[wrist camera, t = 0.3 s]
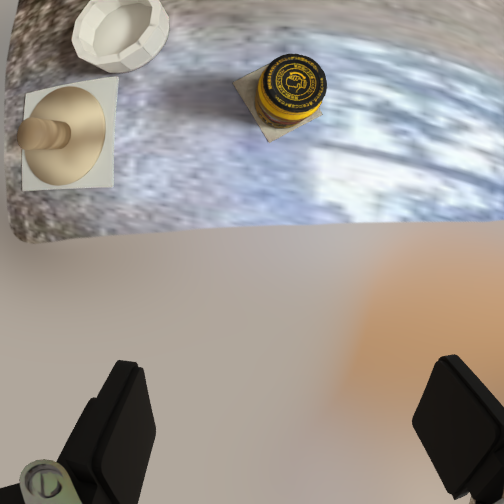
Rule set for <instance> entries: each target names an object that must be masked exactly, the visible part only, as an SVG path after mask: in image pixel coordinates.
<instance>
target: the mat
mask: <svg viewBox="0 0 504 504" xmlns="http://www.w3.org/2000/svg"><path fill="white" fill-rule="evenodd" d="M118 82H119V77H118V76H115V77H108V78H101V79H94V80H88V81H82V82H77V83H71V84H66V85H61V86H57V87H52V88H48V89H43V90H39V91H35V92H31V93H27V94H26V98H25V108H24V120H25V119H27V118H29V117H30V115H31V113H32V112H33V110H34V108H35V107H36V105H37V104H38V103H39V102H40V101H41V100H42V99H43V98H44V97H45V96H46V95H47V94H49V93H50V92H52V91H54V90H56V89H58V88H62V87H67V86H74V87H79V88H82V89H84V90H87V91H88V92H90V93H91V94H92V95H93V96H95V98H96V99H97V100H98V101H99V103H100V105H101V107H102V109H103V112H104V116H105V123H106V133H105V140H104V145H103V148H102V151H101V153H100V156H99V158H98V160H97V161H96V163H95V165H94V166H93V167H92V169H91V170H90V171H89V172H88V173H87V174H86V175H85V176H83V177H82V178H81V179H79V180H78V181H75V182H73V183H70V184H67V185H60V186H55V185H50V184H47V183H45V182H43V181H41V180H40V179H39V178H37V177H36V176H35V174H34V173H33V172H32V170H31V169H30V167H29V165H28V163H27V160H26V156H25V150H24V149H22V191H32V190H49V189H70V188H99V187H114V138H115V119H116V104H117V92H118Z"/></svg>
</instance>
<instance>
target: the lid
mask: <svg viewBox="0 0 504 504" xmlns="http://www.w3.org/2000/svg"><path fill="white" fill-rule="evenodd" d="M105 133H106V123H105V116H104V112H103V109H102V107H101V105H100V103H99V101H98V100H97V99H96V98H95V96H93V95H92V94H91V93H90V92H88V91H87V90H84V89H82V88H79V87H74V86H67V87H62V88H58V89H56V90H54V91H52V92H50V93H49V94H47V95H46V96H45V97H44V98H43V99H42V100H41V101H40V102H39V103H38V104H37V105H36V107H35V108H34V110H33V112H32V113H31V115H30V117H29V118H27V119H25V120H24V121H23V122H22V123H21V125H20V127H19V129H18V133H17V141H18V144H19V146H20V147H21V148H22V149H24V150H25V156H26V160H27V163H28V165H29V167H30V169H31V170H32V172H33V173H34V174H35V176H36V177H37V178H39V179H40V180H41V181H43V182H45V183H47V184H50V185H55V186H60V185H67V184H70V183H73V182H75V181H78V180H79V179H81V178H82V177H83V176H85V175H86V174H87V173H88V172H89V171H90V170H91V169H92V167H93V166H94V165H95V163H96V161H97V160H98V158H99V156H100V153H101V151H102V148H103V145H104V140H105Z"/></svg>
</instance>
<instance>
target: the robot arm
mask: <svg viewBox="0 0 504 504" xmlns="http://www.w3.org/2000/svg"><path fill="white" fill-rule="evenodd" d="M412 425H413V428H414V429H415V431H416V433H417V435H418V437H419V439H420V440H421V442H422V444H423V446H424V448H425V450H426V451H427V454H428V455H429V457H430V459H431V461H432V463H433V465H434V467H435V469H436V471H437V473H438V474H439V477H440V479H441V480H442V482H443V484H444V486H445V488H446V490H447V492H448V493H449V494H452V496H453V498H454V500H456V499H458V498H461V497H463V496H465V495H467V494H468V493H469V492H470V494H471V499H470V503H469V504H504V407H503V406H502V405H501V404H500V402H499V401H498V400H497V399H496V398H495V397H494V395H493V394H492V393H491V392H490V391H489V390H488V389H487V387H486V386H485V385H484V384H483V383H482V382H481V381H480V379H479V378H478V377H477V376H476V375H475V374H474V373H473V372H472V371H471V370H470V368H469V367H468V366H467V365H466V364H465V363H464V362H463V361H462V360H461V359H460V358H459V356H457V355H455V354H454V355H448V356H442V357H440V358H439V360H438V361H437V362H436V363H435V365H434V368H433V370H432V373H431V376H430V378H429V381H428V383H427V386H426V388H425V390H424V393H423V395H422V398H421V400H420V403H419V405H418V407H417V409H416V411H415V413H414V416H413V419H412ZM155 436H156V426H155V422H154V417H153V413H152V409H151V404H150V399H149V395H148V390H147V385H146V379H145V374H144V370H143V368H141V367H138V364H137V363H136V362H131V361H123V360H118V361H117V362H116V363H115V365H114V367H113V369H112V371H111V372H110V374H109V376H108V378H107V380H106V382H105V383H104V385H103V387H102V389H101V390H100V392H99V394H98V396H97V398H91V399H90V400H89V402H88V403H87V405H86V407H85V408H84V410H83V412H82V414H81V416H80V418H79V419H78V421H77V423H76V425H75V427H74V429H73V431H72V433H71V435H70V436H69V438H68V440H67V442H66V444H65V446H64V448H63V450H62V452H61V454H60V456H59V458H58V460H57V462H54V461H52V460H45V459H43V460H36V461H34V462H32V463H30V464H28V465H27V466H26V467H25V468H24V469H23V471H22V472H21V475H20V479H19V481H20V483H18V484H14V485H11V486H7V487H4V488H0V504H138V501H139V497H140V492H141V489H142V485H143V481H144V477H145V473H146V469H147V466H148V462H149V458H150V454H151V451H152V447H153V443H154V440H155Z"/></svg>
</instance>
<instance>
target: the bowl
mask: <svg viewBox="0 0 504 504" xmlns="http://www.w3.org/2000/svg"><path fill="white" fill-rule="evenodd" d="M169 31H170V23H169V17H168V15H167V13H166V12H165V10H164V8H163V6H162V5H161V3H160V1H159V0H91V1H89V3H88V4H87V5H86V7H85V8H84V9H83V11H82V12H81V14H80V15H79V16H78V18H77V19H76V21H75V26H74V31H73V36H72V43H73V45H74V48H75V50H76V52H77V55H78V57H79V58H81V59H83V60H85V61H87V62H88V63H90V64H92V65H94V66H96V67H98V68H100V69H102V70H104V71H107V72H109V73H127V72H131V71H134V70H136V69H139V68H141V67H143V66H144V65H146V64H147V63H149V62H150V61H151V60H153V59H154V58H155V57H156V56H157V55H158V54H159V52H160V51H161V50H162V48H163V47H164V45H165V43H166V41H167V38H168V36H169Z"/></svg>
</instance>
